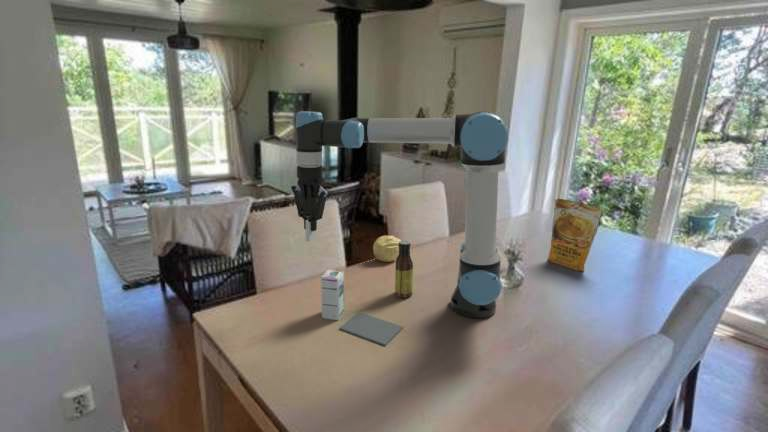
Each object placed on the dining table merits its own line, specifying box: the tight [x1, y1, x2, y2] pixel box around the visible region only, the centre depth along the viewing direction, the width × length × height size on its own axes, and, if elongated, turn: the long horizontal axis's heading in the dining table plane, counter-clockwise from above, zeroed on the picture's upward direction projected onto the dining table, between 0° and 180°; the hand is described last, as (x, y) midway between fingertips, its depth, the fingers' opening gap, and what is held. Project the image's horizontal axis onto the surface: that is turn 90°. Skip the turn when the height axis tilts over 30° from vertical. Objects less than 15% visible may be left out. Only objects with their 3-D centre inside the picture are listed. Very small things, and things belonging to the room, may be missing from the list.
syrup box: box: [320, 269, 345, 321], centre depth 128 cm, size 6×6×14 cm
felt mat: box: [338, 311, 404, 347], centre depth 123 cm, size 16×11×1 cm
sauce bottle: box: [394, 240, 414, 299], centre depth 142 cm, size 6×6×20 cm
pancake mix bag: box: [547, 198, 603, 272], centre depth 173 cm, size 7×19×28 cm, turn 40°
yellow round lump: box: [372, 235, 402, 263], centre depth 174 cm, size 12×12×11 cm
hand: (310, 239), depth 127 cm, fingers closed
